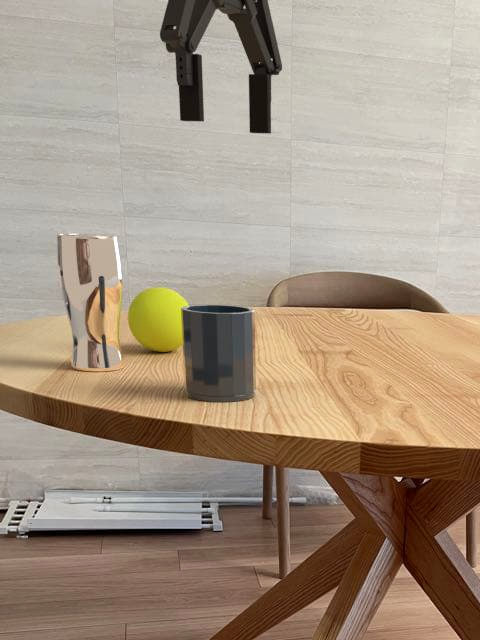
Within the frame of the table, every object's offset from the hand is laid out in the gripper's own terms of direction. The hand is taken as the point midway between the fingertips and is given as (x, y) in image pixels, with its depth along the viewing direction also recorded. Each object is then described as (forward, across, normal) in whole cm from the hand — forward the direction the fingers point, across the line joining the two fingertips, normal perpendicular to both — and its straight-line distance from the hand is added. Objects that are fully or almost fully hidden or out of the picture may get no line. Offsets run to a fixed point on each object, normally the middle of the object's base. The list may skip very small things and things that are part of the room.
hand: (228, 127), depth 98 cm
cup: (+28, -18, -11) cm, 35 cm away
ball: (+28, -1, +11) cm, 30 cm away
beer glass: (+28, -15, +9) cm, 33 cm away
